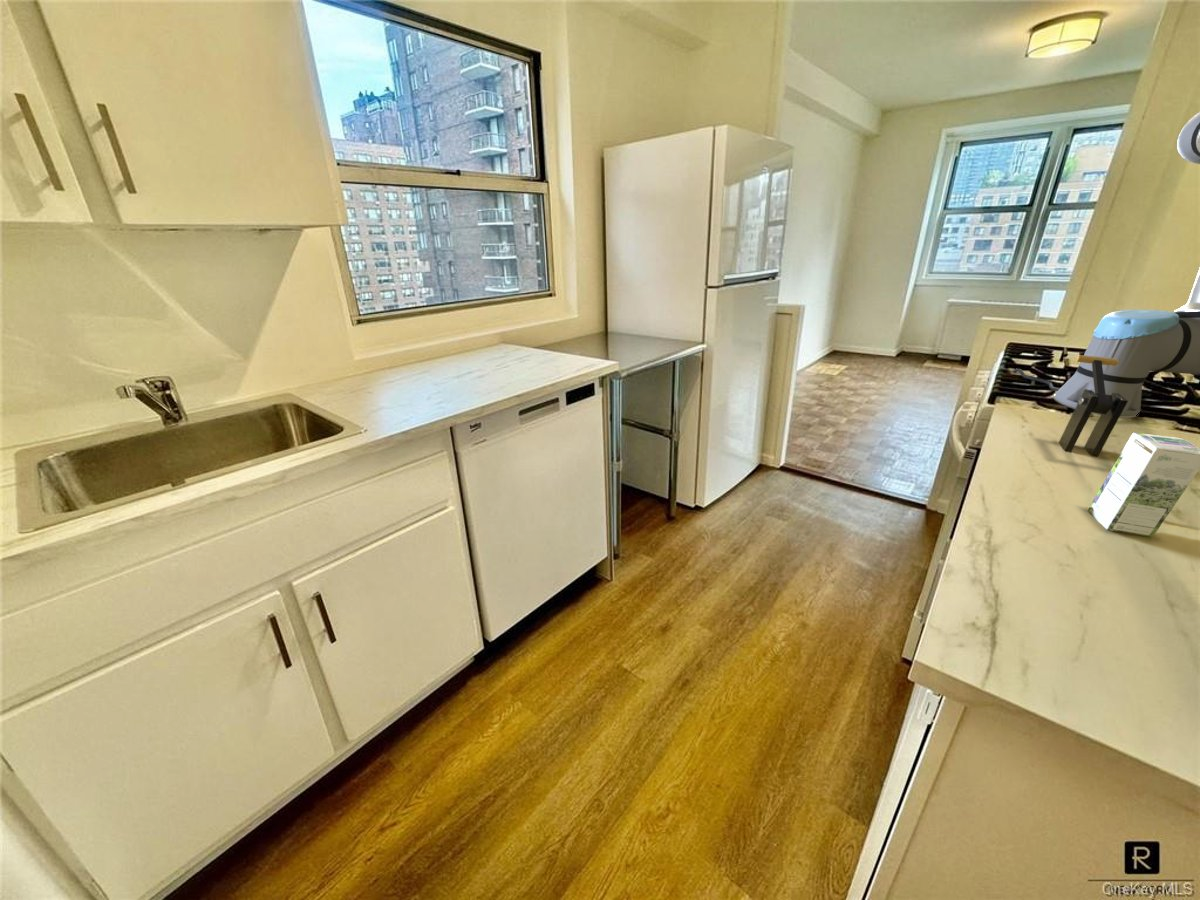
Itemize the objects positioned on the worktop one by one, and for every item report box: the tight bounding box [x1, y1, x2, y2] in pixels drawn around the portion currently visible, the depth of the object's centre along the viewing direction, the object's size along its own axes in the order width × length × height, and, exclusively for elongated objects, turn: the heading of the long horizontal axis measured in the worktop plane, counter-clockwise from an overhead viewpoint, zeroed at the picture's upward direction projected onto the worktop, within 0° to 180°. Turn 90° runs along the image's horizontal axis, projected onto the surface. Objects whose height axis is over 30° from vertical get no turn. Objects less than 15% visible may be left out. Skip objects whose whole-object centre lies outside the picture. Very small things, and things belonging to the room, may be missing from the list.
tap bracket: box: [1058, 389, 1128, 458], centre depth 93 cm, size 10×9×13 cm
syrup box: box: [1087, 432, 1200, 538], centre depth 72 cm, size 6×6×14 cm
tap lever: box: [1074, 354, 1119, 414], centre depth 94 cm, size 14×6×2 cm
